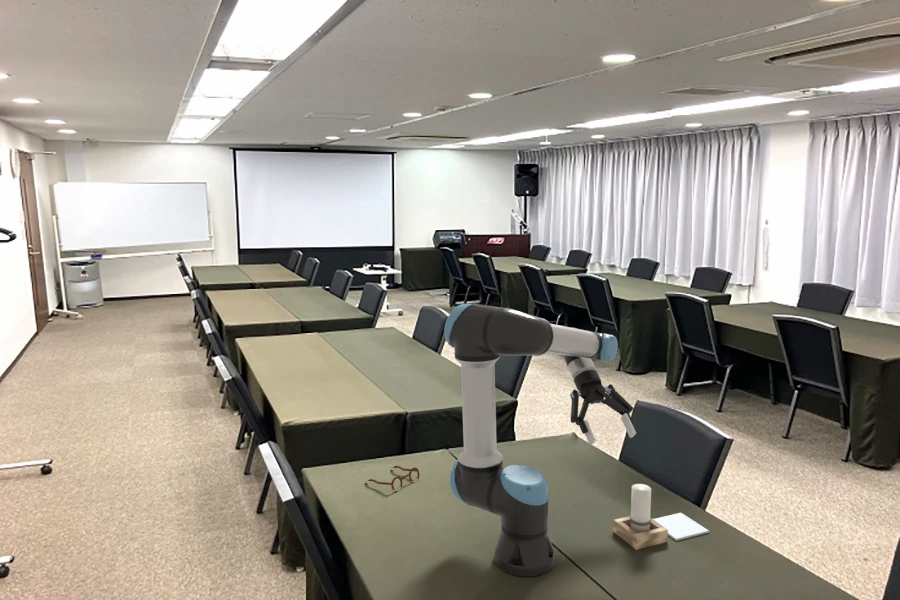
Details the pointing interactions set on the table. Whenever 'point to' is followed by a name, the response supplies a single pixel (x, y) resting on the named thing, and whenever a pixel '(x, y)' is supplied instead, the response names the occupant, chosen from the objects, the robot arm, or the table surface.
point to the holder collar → (642, 539)
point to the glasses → (399, 477)
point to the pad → (681, 526)
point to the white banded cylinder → (640, 508)
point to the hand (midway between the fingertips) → (613, 439)
